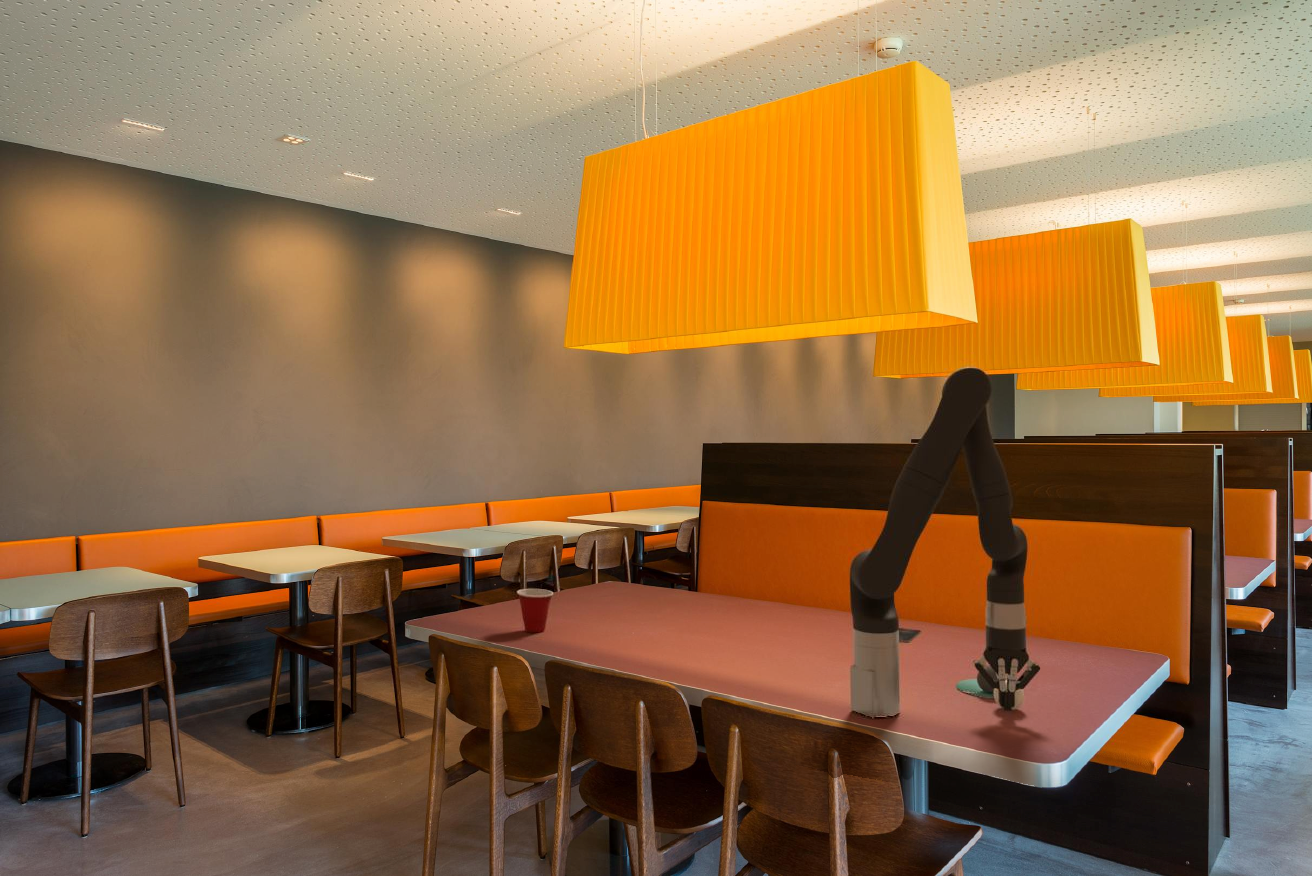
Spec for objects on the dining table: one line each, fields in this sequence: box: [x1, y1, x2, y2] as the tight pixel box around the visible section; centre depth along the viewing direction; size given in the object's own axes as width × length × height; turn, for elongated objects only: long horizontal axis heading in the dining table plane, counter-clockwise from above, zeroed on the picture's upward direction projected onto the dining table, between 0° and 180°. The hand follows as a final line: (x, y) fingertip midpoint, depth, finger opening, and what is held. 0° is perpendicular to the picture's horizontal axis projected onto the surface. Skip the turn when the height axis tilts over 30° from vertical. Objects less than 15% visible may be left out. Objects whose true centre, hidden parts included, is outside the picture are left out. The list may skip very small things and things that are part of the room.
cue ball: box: [994, 679, 1026, 711], centre depth 175 cm, size 6×6×6 cm
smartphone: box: [899, 627, 922, 643], centre depth 239 cm, size 8×1×15 cm
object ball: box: [976, 665, 997, 694], centre depth 185 cm, size 6×6×6 cm
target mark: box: [955, 678, 994, 699], centre depth 189 cm, size 14×14×1 cm
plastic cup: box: [516, 588, 554, 633], centre depth 250 cm, size 11×11×12 cm
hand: (1006, 708), depth 170 cm, fingers closed
